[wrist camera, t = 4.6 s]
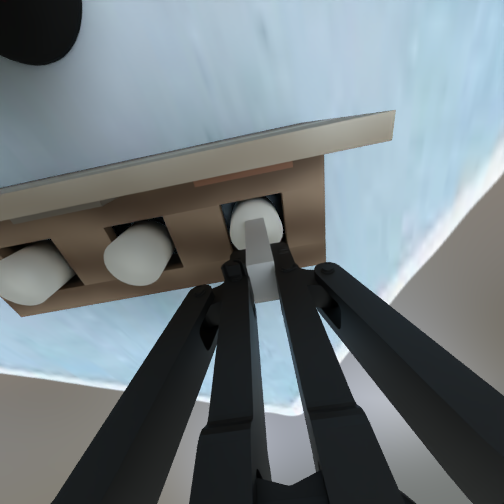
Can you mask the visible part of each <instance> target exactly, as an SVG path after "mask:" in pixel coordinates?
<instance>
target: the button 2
mask: <svg viewBox="0 0 504 504" xmlns="http://www.w3.org/2000/svg"><path fill="white" fill-rule="evenodd" d="M258 218H264V222H265V227H266V231H267V235H268V239H269V243H270V244H272V243H278V242H280V240H281V238H282V234H283V227H282V223H281V220H280V218H279V216H278V213H277V211H276V209H275V206H274V204H273V203H272V201H271V200H270V199H268V198H267V197H266V196H262V197H256V198H251V199H246V200H241V201H237V202H236V203H235V205H234V207H233V210H232V217H231V225H230V238H231V240H232V242H233V244H234V246H235V247H236V248H237V249H238V250H243V249H246V243H245V221H248V220H253V219H258Z"/></svg>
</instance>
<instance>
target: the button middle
mask: <svg viewBox="0 0 504 504" xmlns="http://www.w3.org/2000/svg"><path fill="white" fill-rule="evenodd" d="M174 250H175V245H174V243H173V240H172V238H171V235H170V233H169V231H168V228H167V227H166V226H165V225H163V224H162V223H160V222H157V221H154V220H140V221H137V222H135V223H134V224H133V225H132V226H130V227H129V228H128V229H127V230H126V231H125V232H123V233H122V234H121V235H120V236H119V237H118V238H116V239H115V240H114V241H113V242H112V243H111V244H109V245H108V246H107V248H106V249H105V252H104V263H105V265H106V267H107V269H108V270H109V272H110V273H111V274H112V275H113V276H114V277H116V278H117V279H119V280H120V281H122V282H124V283H127V284H130V285H135V286H145V285H149V284H152V283H154V282H155V281H156V280H157V279H158V278H159V277H160V275H161V274H162V272H163V270H164V268H165V267H166V265H167V263H168V261H169V260H170V258H171V256H172V254H173V252H174Z"/></svg>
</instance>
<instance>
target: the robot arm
mask: <svg viewBox="0 0 504 504" xmlns="http://www.w3.org/2000/svg"><path fill="white" fill-rule="evenodd" d="M245 243H246V249H243V250H237V251H233V252H232V254H231V255H230V260H229V261H227V262H225V263H224V264H223V265H222V266H221V270H222V273H223V276H224V283H223V284H222V285H220V286H218V287H215V288H213V289H212V288H211V286H209V285H206V284H203V285H199V286H196V287H194V288H193V289H191V290H190V292H189V293H188V294H187V296H186V297H185V299H184V300H183V302H182V304H181V305H180V307H179V308H178V310H177V311H176V313H175V314H174V316H173V317H172V319H171V320H170V322H169V324H168V325H167V327H166V328H165V330H164V331H163V333H162V334H161V336H160V337H159V339H158V340H157V342H156V344H155V345H154V347H153V348H152V350H151V351H150V353H149V354H148V356H147V357H146V359H145V360H144V362H143V364H142V365H141V367H140V368H139V370H138V371H137V373H136V374H135V376H134V377H133V379H132V380H131V382H130V384H129V385H128V387H127V388H126V390H125V391H124V393H123V394H122V396H121V397H120V399H119V400H118V402H117V404H116V405H115V407H114V408H113V410H112V411H111V413H110V414H109V416H108V418H107V419H106V420H105V422H104V424H103V425H102V427H101V428H100V430H99V431H98V433H97V434H96V436H95V437H94V439H93V441H92V442H91V444H90V445H89V447H88V448H87V450H86V451H85V453H84V454H83V456H82V457H81V459H80V461H79V462H78V464H77V465H76V467H75V468H74V470H73V471H72V473H71V474H70V476H69V477H68V479H67V481H66V482H65V484H64V485H63V487H62V488H61V490H60V491H59V493H58V494H57V496H56V497H55V499H54V500H53V501H52V503H51V504H157V503H158V500H159V497H160V495H161V492H162V489H163V487H164V484H165V481H166V478H167V476H168V473H169V471H170V468H171V465H172V463H173V460H174V457H175V455H176V452H177V449H178V447H179V444H180V441H181V439H182V436H183V433H184V430H185V428H186V425H187V423H188V420H189V417H190V415H191V412H192V409H193V407H194V404H195V401H196V399H197V396H198V393H199V391H200V388H201V385H202V383H203V380H204V377H205V375H206V372H207V369H208V367H209V364H210V361H211V359H212V356H213V353H214V351H215V348H216V345H217V348H216V357H215V365H214V374H213V382H212V391H211V400H210V408H209V417H208V422H207V425H206V426H205V427H204V428H203V429H202V431H201V433H200V436H199V440H198V445H197V453H196V459H195V466H194V473H193V481H192V487H191V495H190V502H189V504H416V503H415V502H414V501H413V500H411V499H410V498H409V497H408V496H406V495H405V494H404V493H403V492H401V491H400V490H399V489H398V487H397V484H396V482H395V480H394V478H393V475H392V473H391V471H390V468H389V466H388V464H387V461H386V459H385V457H384V454H383V452H382V450H381V448H380V445H379V443H378V441H377V439H376V436H375V434H374V432H373V429H372V427H371V425H370V422H369V421H368V418H367V416H366V414H365V412H364V411H363V409H362V408H361V407H360V406H358V405H357V404H356V402H355V400H354V398H353V396H352V394H351V392H350V389H349V386H348V384H347V382H346V379H345V377H344V374H343V372H342V370H341V367H340V365H339V362H338V360H337V357H336V355H335V352H334V350H333V348H332V345H331V343H330V340H329V338H328V336H327V333H326V331H325V328H324V326H323V323H322V321H321V319H320V316H319V314H318V312H319V313H320V314H321V315H322V317H323V318H324V319H325V320H326V322H327V323H328V324H329V325H330V327H331V328H332V329H333V330H334V332H335V333H336V334H337V335H338V337H339V338H340V339H341V340H342V342H343V343H344V344H345V346H346V347H347V348H348V349H349V351H350V352H351V353H352V354H353V355H354V357H355V358H356V359H357V361H358V362H359V363H360V364H361V366H362V367H363V368H364V369H365V371H366V372H367V373H368V374H369V376H370V377H371V378H372V379H373V381H374V382H375V383H376V385H377V386H378V387H379V388H380V390H381V391H382V392H383V393H384V394H385V396H386V397H387V398H388V400H389V401H390V402H391V403H392V405H393V406H394V407H395V408H396V410H397V411H398V412H399V413H400V415H401V416H402V417H403V418H404V420H405V421H406V422H407V424H408V425H409V426H410V427H411V429H412V430H413V431H414V432H415V434H416V435H417V436H418V437H419V439H420V440H421V441H422V442H423V444H424V445H425V446H426V447H427V449H428V450H429V451H430V453H431V454H432V455H433V456H434V457H435V459H436V460H437V461H438V463H439V464H440V465H441V466H442V468H443V469H444V470H445V471H446V473H447V474H448V475H449V476H450V477H451V479H452V480H453V481H454V482H455V483H456V484H457V486H458V487H459V488H460V489H461V490H462V491H463V493H464V494H465V495H466V496H467V497H468V499H469V500H470V501H471V502H472V503H473V504H504V396H503V395H502V394H500V393H499V392H498V391H497V390H495V389H494V388H493V387H492V386H491V385H489V384H488V383H487V382H485V381H484V380H483V379H482V378H480V377H479V376H478V375H477V374H475V373H474V372H473V371H472V370H470V369H469V368H468V367H467V366H465V365H464V364H463V363H461V362H460V361H459V360H458V359H456V358H455V357H454V356H452V355H451V354H450V353H449V352H448V351H446V350H445V349H444V348H443V347H441V346H440V345H439V344H437V343H436V342H435V341H434V340H432V339H431V338H430V337H429V336H427V335H426V334H425V333H424V332H422V331H421V330H420V329H419V328H417V327H416V326H415V325H413V324H412V323H411V322H410V321H408V320H407V319H406V318H405V317H403V316H402V315H401V314H400V313H398V312H397V311H396V310H395V309H393V308H392V307H391V306H389V305H388V304H387V303H386V302H384V301H383V300H382V299H381V298H379V297H378V296H377V295H376V294H374V293H373V292H372V291H371V290H369V289H368V288H367V287H365V286H364V285H363V284H362V283H360V282H359V281H358V280H357V279H355V278H354V277H353V276H352V275H350V274H349V273H348V272H347V271H345V270H344V269H343V268H341V267H340V266H339V265H337V264H335V263H331V262H324V263H320V264H318V265H316V266H315V268H314V270H305V269H301V268H299V266H298V265H297V264H296V263H295V261H294V259H293V256H292V254H291V251H290V249H289V246H288V244H286V243H285V242H278V243H272V244H270V243H269V239H268V235H267V231H266V227H265V222H264V218H258V219H253V220H248V221H245ZM279 299H280V304H281V310H282V315H283V318H284V323H285V327H286V332H287V337H288V341H289V346H290V351H291V355H292V360H293V365H294V369H295V374H296V378H297V383H298V388H299V392H300V397H301V402H302V406H303V411H304V415H305V420H306V425H307V429H308V434H309V439H310V443H311V448H312V453H313V459H314V464H315V469H316V473H314V474H312V475H310V476H309V477H307V478H305V479H303V480H301V481H299V482H297V483H295V484H294V485H290V486H288V485H283V484H279V483H276V482H272V480H271V472H270V465H269V460H268V452H267V440H266V428H265V415H264V403H263V390H262V378H261V365H260V353H259V340H258V327H257V315H256V307H255V303H261V302H267V301H273V300H279ZM254 301H255V303H254ZM316 308H317V309H316ZM317 310H318V311H317Z"/></svg>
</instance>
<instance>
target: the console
mask: <svg viewBox="0 0 504 504" xmlns="http://www.w3.org/2000/svg"><path fill="white" fill-rule="evenodd" d="M395 112H396V110H392V111H384V112H377V113H370V114H362V115H355V116H348V117H340V118H333V119H326V120H318V121H311V122H304V123H299V124H294V125H289V126H285V127H280V128H275V129H271V130H266V131H262V132H257V133H252V134H248V135H243V136H238V137H234V138H229V139H224V140H220V141H215V142H211V143H206V144H201V145H197V146H192V147H187V148H183V149H178V150H174V151H169V152H164V153H160V154H155V155H150V156H146V157H141V158H136V159H132V160H127V161H123V162H118V163H113V164H109V165H104V166H99V167H95V168H90V169H86V170H81V171H76V172H72V173H67V174H62V175H58V176H53V177H49V178H44V179H39V180H35V181H30V182H25V183H21V184H16V185H11V186H7V187H2V188H0V260H2V259H4V258H6V257H8V256H10V255H12V254H13V253H15V252H17V251H19V250H21V249H23V248H25V247H26V246H28V245H30V244H32V243H34V242H36V241H40V240H45V239H51V240H52V241H53V243H54V244H55V245H56V247H57V248H58V249H59V251H60V252H61V254H62V255H63V256H64V258H65V259H66V260H67V262H68V263H69V264H70V266H71V267H72V268H73V270H74V271H75V273H76V275H74V276H73V277H72V278H71V279H70V280H69V281H68V282H66V283H65V284H64V285H63V286H62V287H61V288H59V289H58V290H57V291H56V292H55V293H54V294H52V295H51V296H50V297H49V298H48V299H47V300H45V301H44V302H43V303H41V304H38V305H31V306H29V305H21V304H17V303H14V302H11V301H9V300H7V299H5V298H3V297H1V296H0V297H1V298H2V299H3V300H4V301H6V302H7V303H8V304H9V305H10V306H11V307H12V308H13V309H14V310H15V311H16V312H17V313H18V314H19V315H20V316H21V317H25V316H30V315H36V314H42V313H47V312H53V311H59V310H64V309H70V308H76V307H81V306H87V305H92V304H98V303H104V302H109V301H115V300H121V299H126V298H132V297H138V296H143V295H149V294H155V293H160V292H166V291H172V290H177V289H183V288H189V287H194V286H199V285H203V284H211V283H217V282H222V281H224V276H223V273H222V270H221V266H222V265H223V264H224V263H225V262H227V261H229V260H230V255H231V254H232V252H233V251H237V250H238V249H237V248H236V247H235V246H234V244H233V243H231V241H230V237H229V234H228V230H227V226H226V222H225V219H224V215H223V211H222V207H221V204H226V203H231V202H236V201H241V200H246V199H251V198H256V197H262V196H267V195H272V194H277V193H281V202H282V210H283V218H284V227H285V234H282V238H281V240H280V242H285V243H286V244H288V246H289V249H290V251H291V254H292V256H293V259H294V261H295V263H296V264H297V265H298V266H299V268H302V267H307V266H313V265H318V264H320V263H324V262H326V244H325V188H324V154H328V153H333V152H338V151H343V150H347V149H352V148H357V147H362V146H367V145H372V144H377V143H381V142H386V141H391V140H392V136H393V128H394V120H395ZM161 216H163V219H164V221H165V224H166V226H167V228H168V231H169V233H170V235H171V238H172V240H173V243H174V245H175V247H176V250H177V252H178V254H172V256H171V258H170V260H169V261H168V263H167V265H166V267H165V268H164V270H163V272H162V274H161V275H160V277H159V278H158V279H157V280H156V281H155V282H154V283H152V284H149V285H145V286H135V285H130V284H127V283H124V282H122V281H120V280H119V279H117V278H116V277H114V276H113V275H112V274H111V273H110V272H109V270H108V269H107V267H106V265H105V263H104V252H105V249H106V248H107V246H108V245H109V244H111V243H112V242H113V241H114V240H115V239H116V238H118V237H117V236H116V234H115V232H114V230H113V229H112V227H111V226H115V225H120V224H125V223H130V222H135V221H140V220H146V219H151V218H156V217H161Z"/></svg>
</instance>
